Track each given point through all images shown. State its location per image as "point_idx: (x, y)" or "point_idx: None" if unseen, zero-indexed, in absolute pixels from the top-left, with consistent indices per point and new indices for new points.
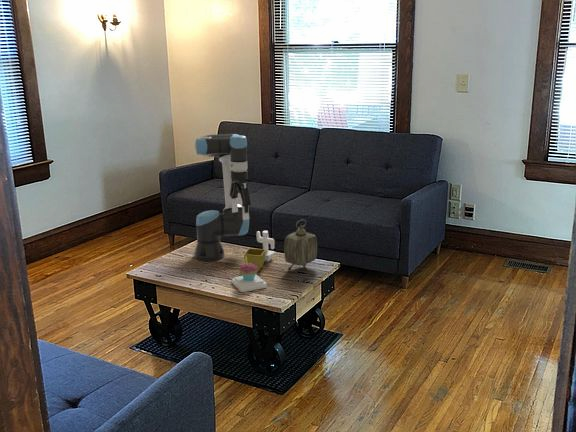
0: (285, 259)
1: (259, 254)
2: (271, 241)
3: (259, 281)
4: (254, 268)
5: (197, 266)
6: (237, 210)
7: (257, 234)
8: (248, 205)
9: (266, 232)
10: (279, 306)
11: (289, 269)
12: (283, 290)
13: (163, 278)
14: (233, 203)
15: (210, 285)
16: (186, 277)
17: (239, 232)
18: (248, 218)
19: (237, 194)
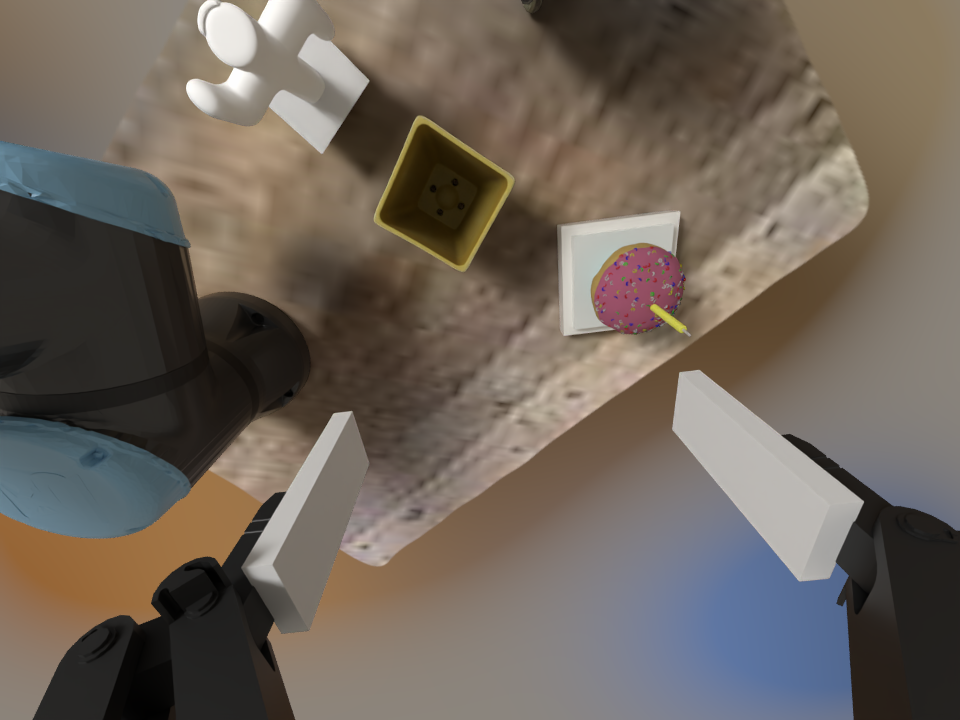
0: (531, 2)
1: (412, 159)
2: (313, 16)
3: (670, 244)
4: (680, 273)
5: (356, 409)
6: (348, 427)
7: (232, 115)
8: (946, 531)
9: (252, 28)
10: (859, 217)
11: (540, 4)
12: (739, 143)
13: (440, 506)
14: (330, 545)
15: (550, 399)
16: (453, 453)
17: (189, 246)
18: (705, 380)
19: (257, 677)
